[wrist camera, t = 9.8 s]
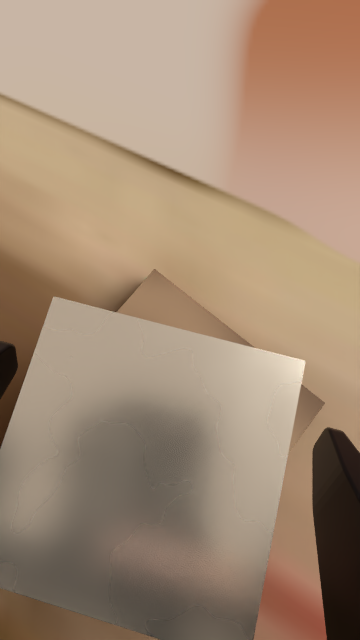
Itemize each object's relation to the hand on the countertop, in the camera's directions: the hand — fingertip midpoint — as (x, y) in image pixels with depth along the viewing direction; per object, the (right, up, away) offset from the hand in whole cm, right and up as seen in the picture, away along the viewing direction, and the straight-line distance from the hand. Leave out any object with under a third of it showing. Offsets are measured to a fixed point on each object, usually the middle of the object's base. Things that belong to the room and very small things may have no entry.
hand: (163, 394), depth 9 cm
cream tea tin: (0, -3, +8) cm, 9 cm away
